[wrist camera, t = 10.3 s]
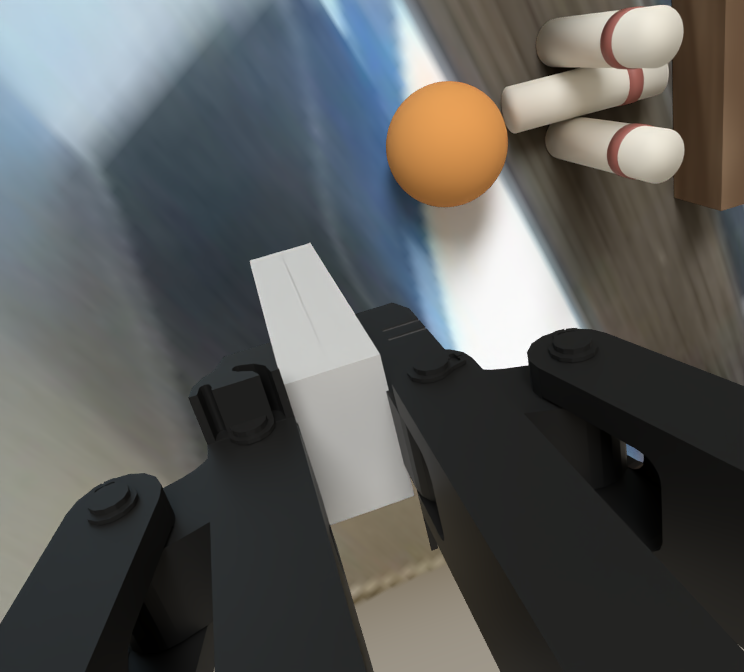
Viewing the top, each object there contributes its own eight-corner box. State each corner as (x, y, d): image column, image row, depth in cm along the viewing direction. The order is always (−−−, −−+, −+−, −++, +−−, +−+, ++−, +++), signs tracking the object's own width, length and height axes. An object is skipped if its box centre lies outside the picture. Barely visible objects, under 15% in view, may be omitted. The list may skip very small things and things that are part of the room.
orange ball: (519, 182, 35) (414, 187, 37) (514, 64, 32) (400, 77, 34) (498, 224, 30) (379, 226, 32) (490, 89, 27) (359, 102, 29)
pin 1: (537, 73, 35) (632, 76, 27) (532, 23, 34) (630, 11, 26) (579, 62, 35) (684, 61, 27) (575, 11, 34) (684, -3, 26)
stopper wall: (674, 197, 40) (721, 210, 36) (670, -105, 33) (728, -126, 29) (702, 189, 40) (752, 201, 36) (704, -113, 33) (766, -135, 29)
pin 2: (546, 164, 37) (637, 190, 29) (542, 120, 36) (635, 135, 28) (585, 153, 37) (685, 176, 30) (582, 109, 36) (685, 121, 28)
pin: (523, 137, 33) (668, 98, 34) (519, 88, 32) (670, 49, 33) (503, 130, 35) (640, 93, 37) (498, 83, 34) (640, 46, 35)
